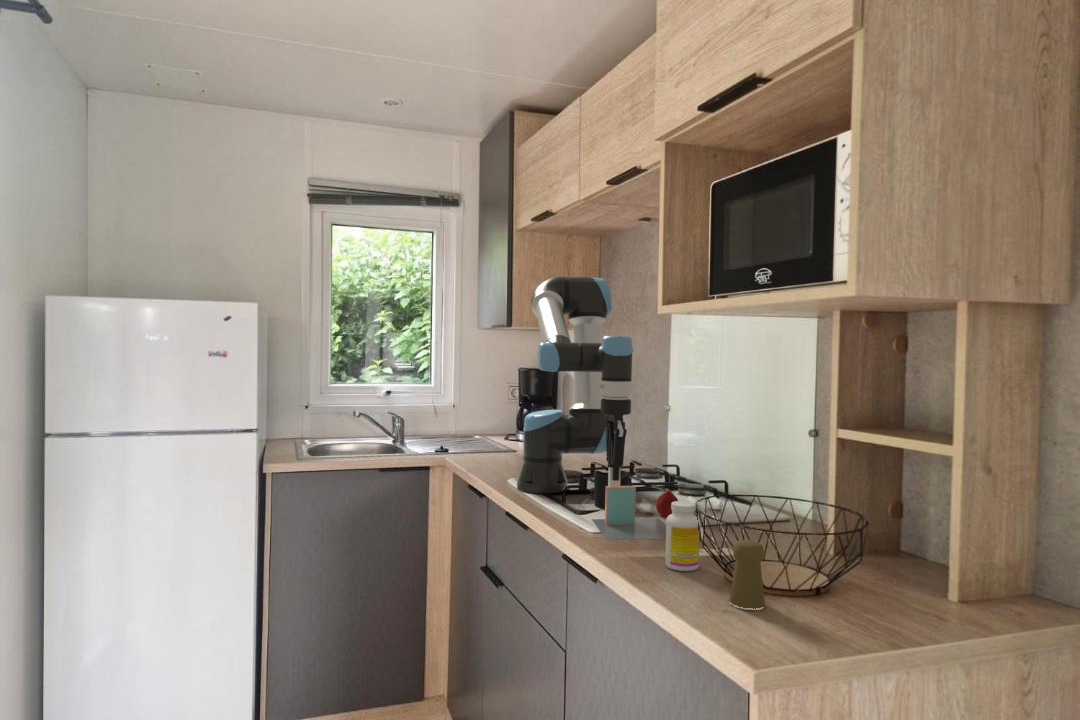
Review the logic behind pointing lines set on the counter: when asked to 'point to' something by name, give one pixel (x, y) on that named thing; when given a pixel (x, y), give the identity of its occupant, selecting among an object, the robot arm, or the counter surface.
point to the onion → (665, 503)
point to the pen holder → (602, 482)
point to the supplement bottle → (682, 537)
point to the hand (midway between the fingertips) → (614, 492)
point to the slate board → (633, 529)
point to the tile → (620, 505)
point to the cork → (747, 575)
